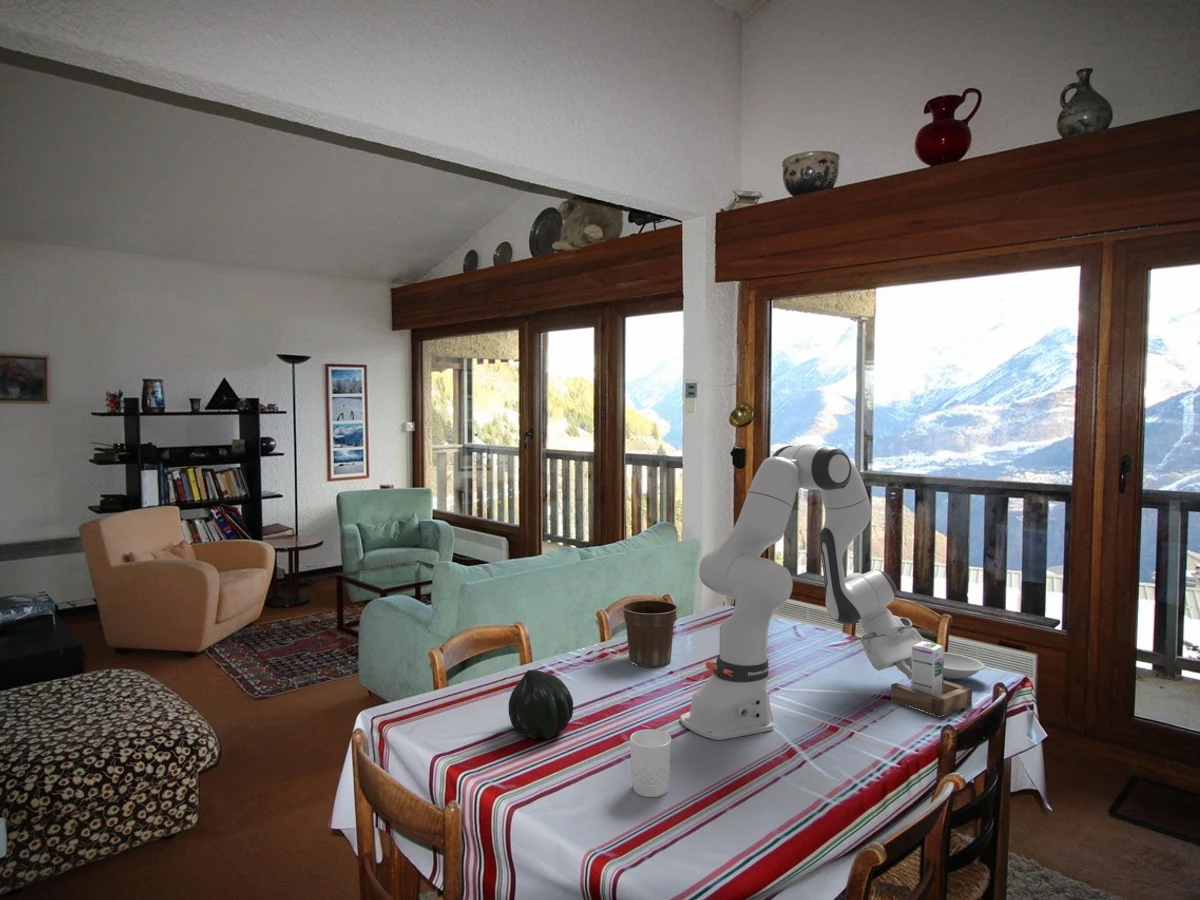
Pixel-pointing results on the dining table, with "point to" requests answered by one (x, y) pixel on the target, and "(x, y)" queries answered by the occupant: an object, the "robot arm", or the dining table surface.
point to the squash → (540, 705)
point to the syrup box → (928, 668)
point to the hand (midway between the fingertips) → (915, 677)
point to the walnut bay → (934, 698)
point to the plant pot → (650, 631)
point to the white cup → (650, 762)
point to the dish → (960, 666)
